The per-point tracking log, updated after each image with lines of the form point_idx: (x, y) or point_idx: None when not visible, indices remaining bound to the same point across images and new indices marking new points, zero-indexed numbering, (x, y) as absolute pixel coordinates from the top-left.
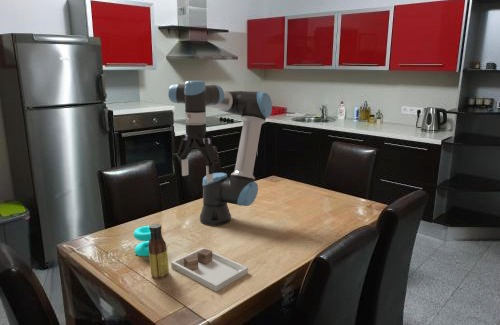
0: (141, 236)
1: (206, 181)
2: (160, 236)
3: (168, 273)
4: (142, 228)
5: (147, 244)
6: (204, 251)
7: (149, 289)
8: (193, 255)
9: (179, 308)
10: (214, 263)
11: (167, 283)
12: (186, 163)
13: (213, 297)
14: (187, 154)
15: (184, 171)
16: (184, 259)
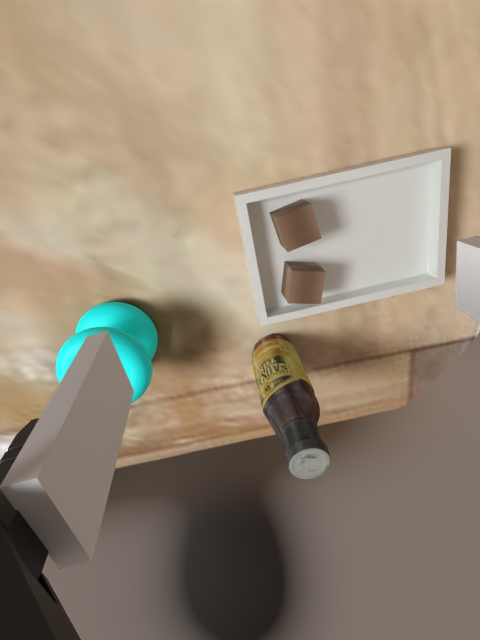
0: (139, 396)
1: (461, 311)
2: (316, 427)
3: (286, 338)
4: None
5: None
6: (296, 228)
7: None
8: (296, 272)
9: (409, 362)
10: (321, 204)
11: (311, 348)
12: (80, 446)
13: (435, 288)
14: (44, 600)
15: (118, 405)
16: (294, 302)
